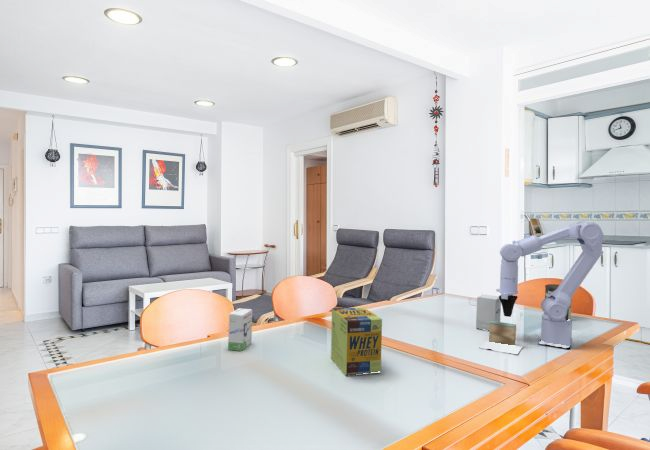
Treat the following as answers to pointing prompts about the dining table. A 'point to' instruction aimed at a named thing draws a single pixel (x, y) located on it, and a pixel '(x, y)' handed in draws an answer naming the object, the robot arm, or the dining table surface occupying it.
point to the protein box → (356, 340)
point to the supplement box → (487, 311)
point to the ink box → (240, 329)
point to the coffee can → (548, 291)
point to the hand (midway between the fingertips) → (507, 316)
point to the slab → (502, 333)
